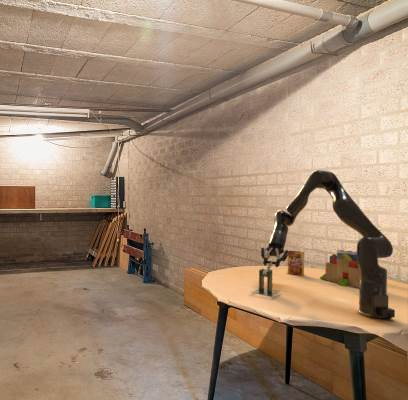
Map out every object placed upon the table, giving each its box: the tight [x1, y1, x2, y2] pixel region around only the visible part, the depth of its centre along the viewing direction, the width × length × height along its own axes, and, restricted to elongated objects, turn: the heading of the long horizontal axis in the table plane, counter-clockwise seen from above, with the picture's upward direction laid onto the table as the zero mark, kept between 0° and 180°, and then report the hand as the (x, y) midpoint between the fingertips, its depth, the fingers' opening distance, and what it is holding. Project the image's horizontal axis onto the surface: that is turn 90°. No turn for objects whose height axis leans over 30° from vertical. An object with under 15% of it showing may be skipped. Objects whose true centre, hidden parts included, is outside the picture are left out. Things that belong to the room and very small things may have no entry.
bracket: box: [250, 268, 281, 298], centre depth 174 cm, size 13×10×13 cm
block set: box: [319, 252, 360, 289], centre depth 200 cm, size 28×14×19 cm, turn 21°
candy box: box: [287, 249, 305, 276], centre depth 224 cm, size 9×4×15 cm, turn 43°
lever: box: [262, 260, 276, 278], centre depth 178 cm, size 12×5×2 cm, turn 138°
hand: (270, 265), depth 180 cm, fingers closed on lever, 5 cm apart
